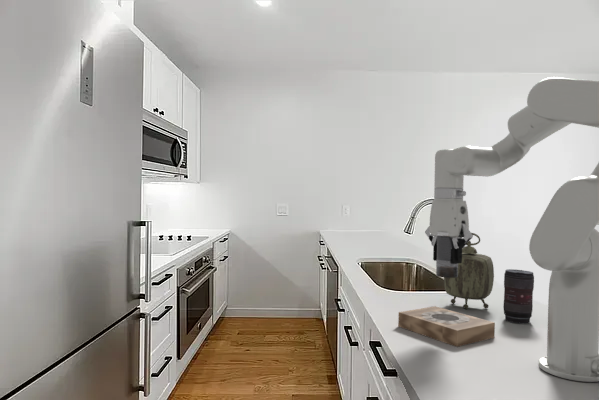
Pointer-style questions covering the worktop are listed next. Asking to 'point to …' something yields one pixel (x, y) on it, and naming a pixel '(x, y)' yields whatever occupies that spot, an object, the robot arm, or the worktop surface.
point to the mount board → (447, 325)
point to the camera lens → (518, 295)
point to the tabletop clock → (471, 276)
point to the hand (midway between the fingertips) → (447, 261)
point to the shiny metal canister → (445, 256)
